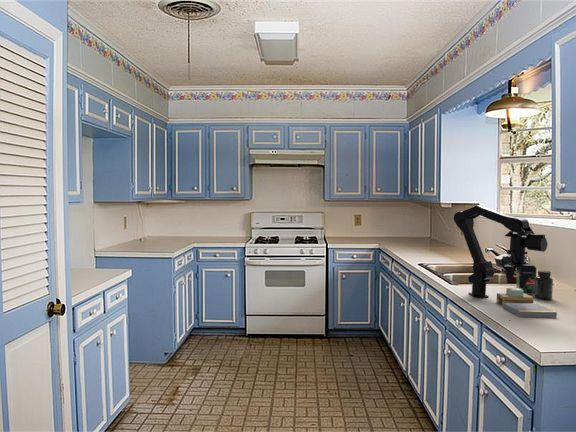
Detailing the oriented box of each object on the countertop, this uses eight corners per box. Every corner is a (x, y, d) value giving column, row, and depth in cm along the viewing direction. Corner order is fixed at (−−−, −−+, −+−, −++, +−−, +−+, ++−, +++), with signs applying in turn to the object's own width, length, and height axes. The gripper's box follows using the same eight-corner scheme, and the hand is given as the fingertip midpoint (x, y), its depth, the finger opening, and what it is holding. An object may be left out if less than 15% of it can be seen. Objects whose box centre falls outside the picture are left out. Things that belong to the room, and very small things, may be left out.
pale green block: (506, 293, 179) (506, 288, 179) (517, 294, 179) (518, 288, 179) (511, 296, 175) (511, 290, 175) (523, 296, 175) (523, 290, 175)
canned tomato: (521, 289, 204) (522, 266, 203) (538, 293, 198) (539, 269, 197) (512, 291, 199) (514, 268, 199) (530, 295, 193) (531, 271, 192)
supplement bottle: (545, 296, 192) (547, 269, 191) (555, 300, 185) (557, 273, 185) (530, 295, 192) (532, 269, 191) (540, 299, 185) (541, 272, 184)
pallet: (496, 302, 180) (496, 293, 180) (524, 302, 180) (524, 293, 180) (503, 306, 174) (504, 296, 174) (532, 306, 174) (533, 297, 174)
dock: (502, 307, 171) (503, 302, 171) (537, 308, 171) (537, 303, 171) (519, 316, 159) (519, 311, 159) (556, 317, 160) (556, 312, 159)
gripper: (487, 244, 185) (485, 280, 186) (510, 251, 166) (507, 290, 167) (512, 245, 185) (510, 280, 186) (538, 252, 167) (535, 291, 168)
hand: (515, 285), depth 177 cm, fingers open, 9 cm apart
